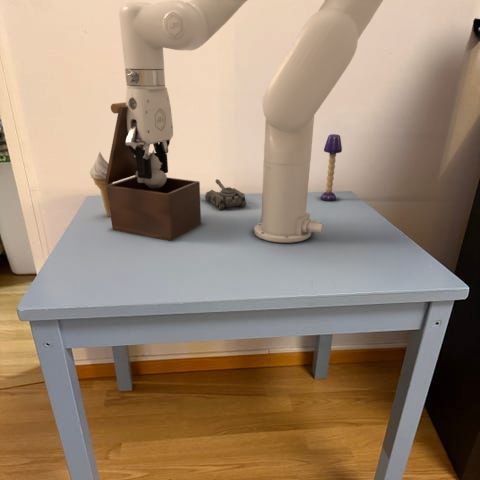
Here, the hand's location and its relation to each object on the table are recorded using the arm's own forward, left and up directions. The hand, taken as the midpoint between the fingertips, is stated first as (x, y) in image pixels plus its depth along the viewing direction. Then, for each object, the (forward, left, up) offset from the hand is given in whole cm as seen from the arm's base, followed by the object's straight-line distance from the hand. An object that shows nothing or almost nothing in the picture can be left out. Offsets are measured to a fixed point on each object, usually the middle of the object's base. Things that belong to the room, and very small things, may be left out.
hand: (153, 174), depth 97 cm
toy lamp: (-28, -41, -12) cm, 51 cm away
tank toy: (-5, -24, -12) cm, 27 cm away
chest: (0, 0, -12) cm, 12 cm away
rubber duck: (0, 0, -3) cm, 3 cm away
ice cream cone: (+15, -1, -12) cm, 19 cm away
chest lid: (+4, 0, +6) cm, 7 cm away
